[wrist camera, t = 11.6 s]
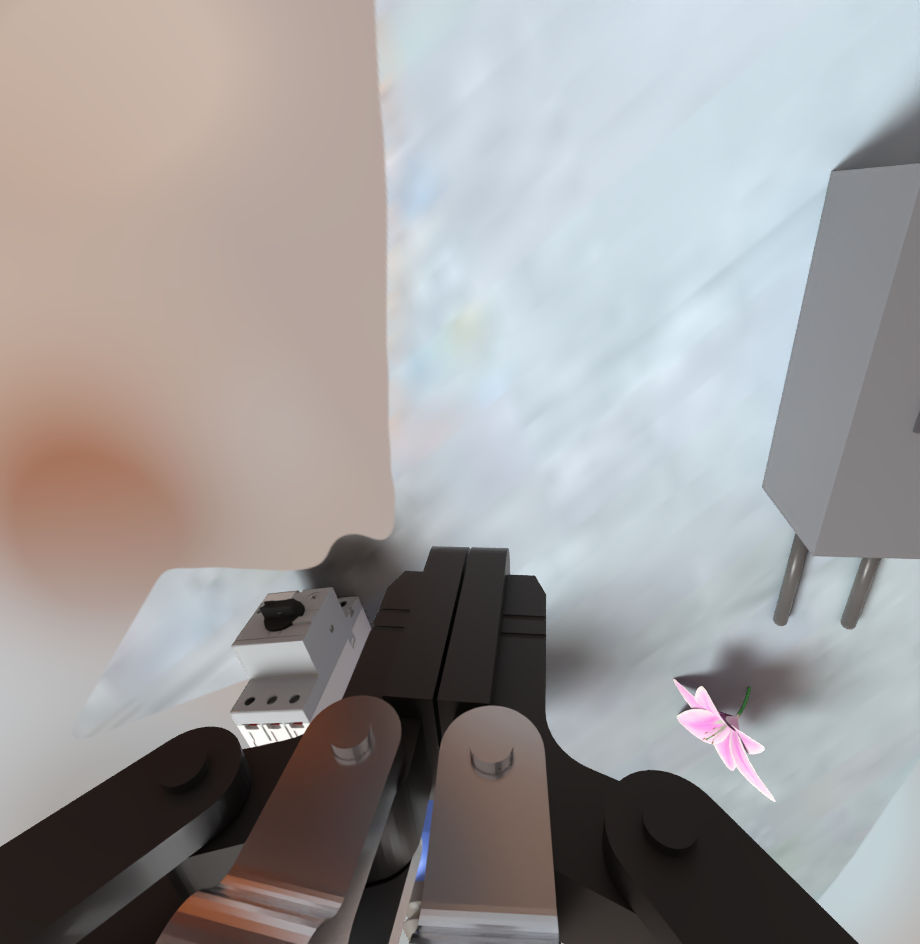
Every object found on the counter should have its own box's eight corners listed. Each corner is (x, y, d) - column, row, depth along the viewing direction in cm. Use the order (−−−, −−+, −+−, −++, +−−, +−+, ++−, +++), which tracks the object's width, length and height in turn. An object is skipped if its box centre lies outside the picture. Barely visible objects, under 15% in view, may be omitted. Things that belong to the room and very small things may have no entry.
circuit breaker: (339, 551, 56) (275, 659, 43) (379, 648, 62) (334, 769, 49) (278, 558, 58) (199, 664, 45) (323, 652, 64) (264, 770, 51)
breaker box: (831, 171, 35) (945, 160, 25) (1080, 151, 32) (1317, 129, 22) (733, 617, 52) (777, 716, 42) (889, 625, 50) (974, 731, 40)
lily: (698, 629, 55) (670, 708, 49) (821, 690, 51) (806, 785, 45) (666, 676, 64) (639, 748, 58) (769, 732, 59) (750, 815, 54)
